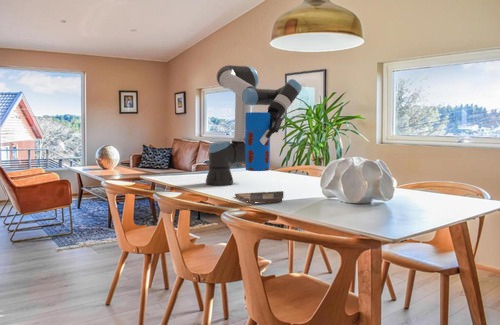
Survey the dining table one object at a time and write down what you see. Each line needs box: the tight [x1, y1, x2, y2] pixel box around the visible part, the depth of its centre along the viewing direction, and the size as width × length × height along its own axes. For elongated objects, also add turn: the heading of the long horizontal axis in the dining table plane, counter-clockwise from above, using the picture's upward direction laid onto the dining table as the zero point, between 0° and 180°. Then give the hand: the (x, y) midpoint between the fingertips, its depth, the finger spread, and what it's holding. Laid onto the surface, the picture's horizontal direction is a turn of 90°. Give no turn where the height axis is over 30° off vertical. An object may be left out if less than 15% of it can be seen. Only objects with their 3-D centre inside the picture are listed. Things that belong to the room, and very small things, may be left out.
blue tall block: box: [244, 111, 271, 172], centre depth 192 cm, size 11×11×25 cm
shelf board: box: [234, 190, 284, 204], centre depth 195 cm, size 19×15×4 cm
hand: (252, 142), depth 190 cm, fingers closed on blue tall block, 11 cm apart
